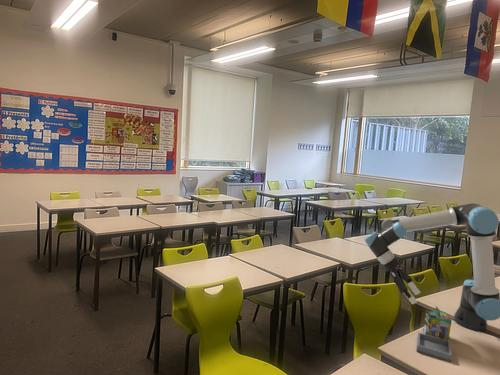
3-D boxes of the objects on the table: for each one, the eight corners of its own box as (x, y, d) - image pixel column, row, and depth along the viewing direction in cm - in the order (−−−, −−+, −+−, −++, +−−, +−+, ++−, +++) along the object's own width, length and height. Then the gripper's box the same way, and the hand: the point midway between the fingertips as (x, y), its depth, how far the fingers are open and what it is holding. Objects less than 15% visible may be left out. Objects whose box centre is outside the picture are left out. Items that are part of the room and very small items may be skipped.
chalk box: (448, 344, 170) (453, 314, 168) (427, 340, 172) (432, 310, 170) (442, 334, 179) (447, 305, 177) (422, 330, 181) (426, 302, 179)
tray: (448, 347, 167) (449, 341, 167) (450, 361, 155) (451, 355, 155) (417, 338, 173) (418, 332, 172) (416, 351, 161) (417, 345, 160)
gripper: (387, 258, 196) (413, 293, 191) (377, 271, 175) (406, 310, 169) (399, 251, 193) (425, 287, 187) (390, 263, 171) (420, 303, 166)
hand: (416, 298), depth 178 cm, fingers open, 13 cm apart
